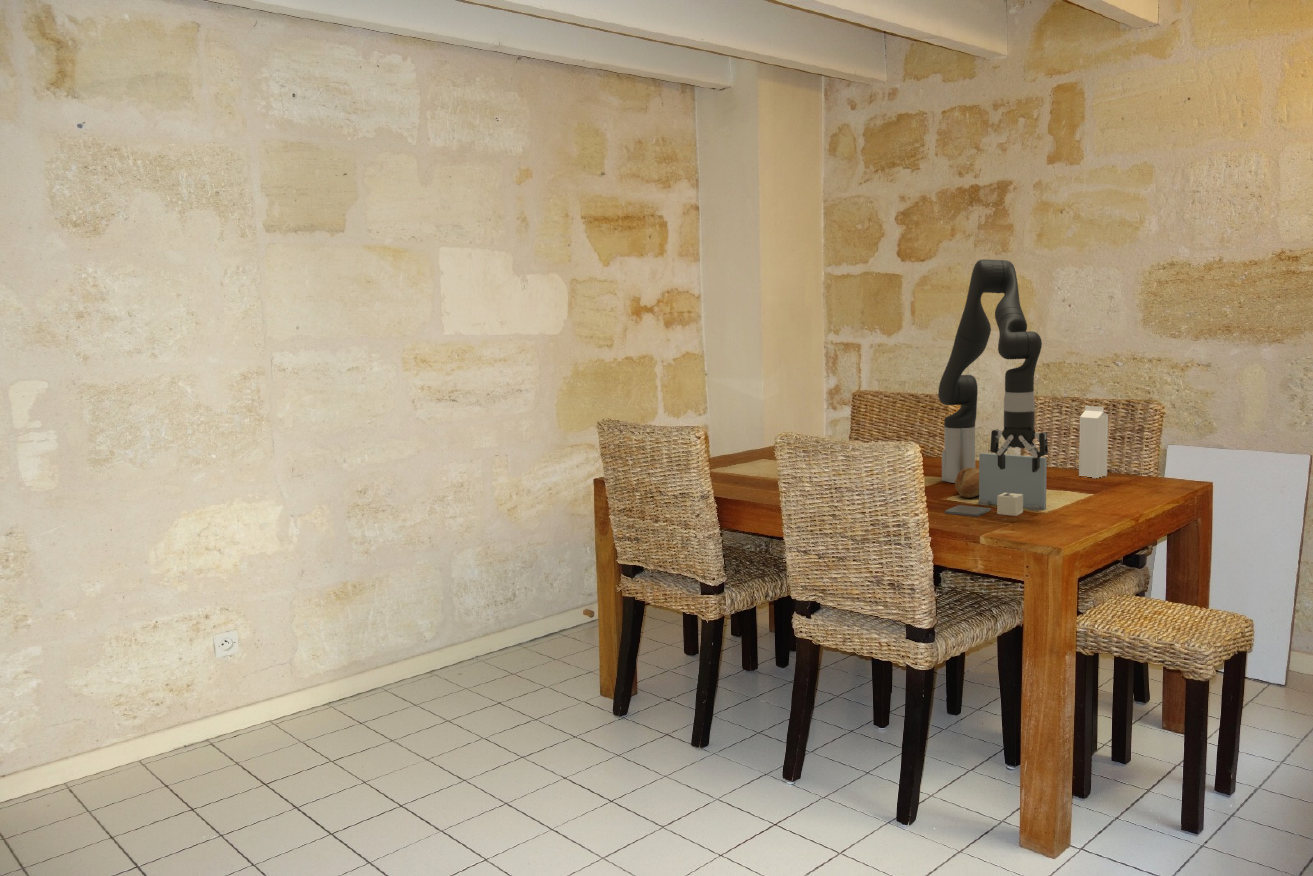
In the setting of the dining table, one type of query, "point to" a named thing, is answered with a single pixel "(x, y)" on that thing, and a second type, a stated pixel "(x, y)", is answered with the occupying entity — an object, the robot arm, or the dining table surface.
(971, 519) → the dining table surface
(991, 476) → the screen
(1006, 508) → the letter cube
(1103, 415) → the milk
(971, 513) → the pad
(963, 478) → the bread roll
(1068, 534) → the dining table surface
